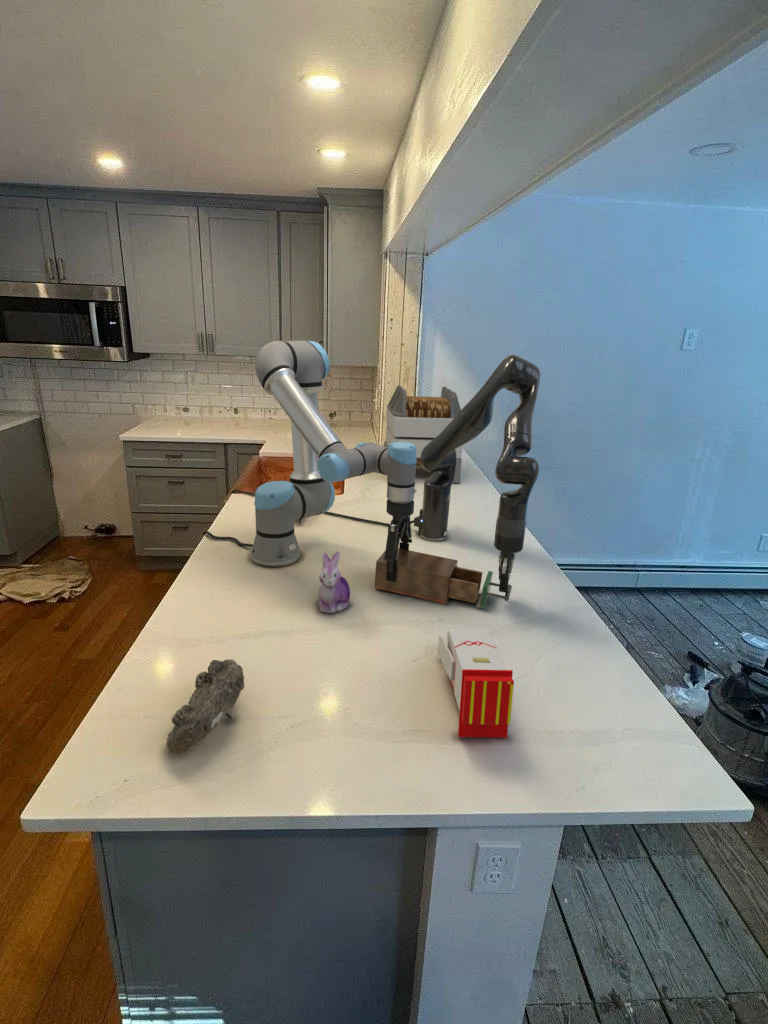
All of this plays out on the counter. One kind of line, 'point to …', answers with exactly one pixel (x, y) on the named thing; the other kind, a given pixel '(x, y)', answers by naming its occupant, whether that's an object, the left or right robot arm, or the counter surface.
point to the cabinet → (417, 575)
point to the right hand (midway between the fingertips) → (503, 590)
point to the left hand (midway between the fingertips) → (397, 572)
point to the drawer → (472, 586)
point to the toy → (478, 682)
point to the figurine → (332, 586)
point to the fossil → (206, 705)
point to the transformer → (421, 420)
